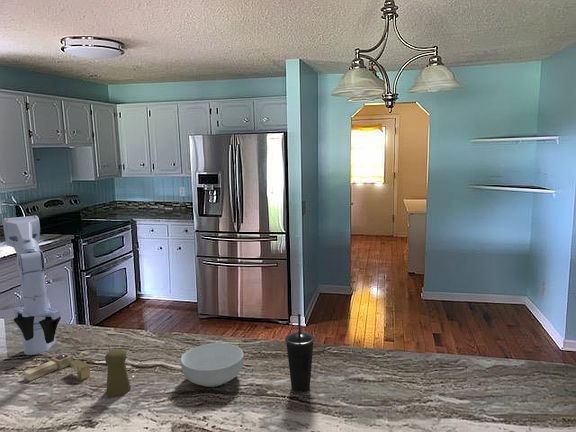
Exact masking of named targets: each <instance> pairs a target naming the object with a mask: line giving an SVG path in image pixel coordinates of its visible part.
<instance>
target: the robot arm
mask: <svg viewBox="0 0 576 432" xmlns="http://www.w3.org/2000/svg"><path fill="white" fill-rule="evenodd" d="M2 224H3V233H4V238H5V242H6V245H7V247H8V246H9V247H11V248H13V249H14V251H15V253H16V266H17V271H18V274H19V279H20V284H21V285H20V286H21V291H22V292H21V293H22V296H21V297H20V298H19V299H18V300H17V301H16V302H14V305H13V314H14V318H13V323H15V327H16V328H17V329H19V330H20V331H21V339H22V348H23V353H24V355H26V356H35V355H39V354H42V353H45V352H47V351H48V350H50V348H51V347H52V346H54V345H55V344H56V343H57V342H56V341H57V340H56V330H57V327H58V326H59V323H60V321H61V319H62V317H61V315H60V310H57V309H55V308H52V306H51V303H50V299H49V298H48V297H47V289H46V279H45V278H46V277H45V271H46V258H45V254H44V252H43V251H42V249H40V245H39V242H40V238H41V234H40V233H41V225H40V219H39V216H37V214H36V215H29V216H19V217H17V216H16V217H4V218H3V219H2Z"/></svg>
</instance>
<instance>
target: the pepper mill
mask: <svg viewBox="0 0 576 432" xmlns="http://www.w3.org/2000/svg"><path fill="white" fill-rule="evenodd" d="M104 360H105V364H106V365H107V377H106V378H107V379H106V395H107V396H108V397H111V398H116V397H121V396H124V395H127V394H128V393H130V392H131V390H132V388H131V387H132V386H131V382H130V379H129V374H128V370H127V366H126V360H127V352H126V351H125V350H124V349H121V348H116V349H112V350H109V351H107V353H106V354H105V356H104Z"/></svg>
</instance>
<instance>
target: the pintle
mask: <svg viewBox="0 0 576 432" xmlns="http://www.w3.org/2000/svg"><path fill="white" fill-rule="evenodd" d="M60 354H61V355H60ZM60 354H58V355H59V356H58V355H57V356H58V360H61V359H64V358H65V354H62V353H60Z"/></svg>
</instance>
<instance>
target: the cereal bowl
mask: <svg viewBox="0 0 576 432" xmlns="http://www.w3.org/2000/svg"><path fill="white" fill-rule="evenodd" d="M244 355H245V354H244V352H243V350H242V348H240V347H239V346H237V345H234V344H231V343H223V342H221V343H220V342H217V343H216V342H214V343H207V344H202V345H198V346H196V347H193V348H190V349H189V350H187V351H186V352H184V353H183V354H182V355H181V357H180V366H181V371H182V374H183V375H184V377H185V378H186V380H188V381H189V382H191V383H193V384H195V385H198V386H203V387H206V388H207V387H208V388H209V387H211V388H215V387H218V386H222V385H224V384H225V383H227V382H230V381H232V380H233V379H235V378H236V377H238V375H239V373H241V371H242V369H243V366H244V360H245V359H244Z"/></svg>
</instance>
